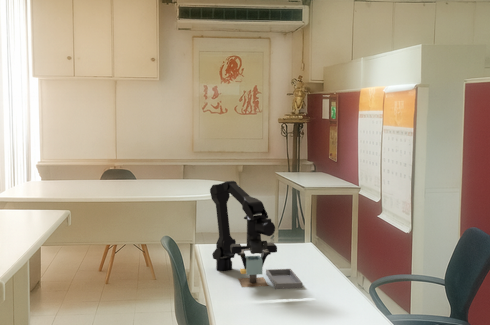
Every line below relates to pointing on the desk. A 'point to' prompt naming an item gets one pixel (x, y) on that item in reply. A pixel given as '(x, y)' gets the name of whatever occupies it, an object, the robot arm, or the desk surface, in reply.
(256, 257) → the sleeve
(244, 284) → the stake
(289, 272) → the tray
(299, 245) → the desk surface
